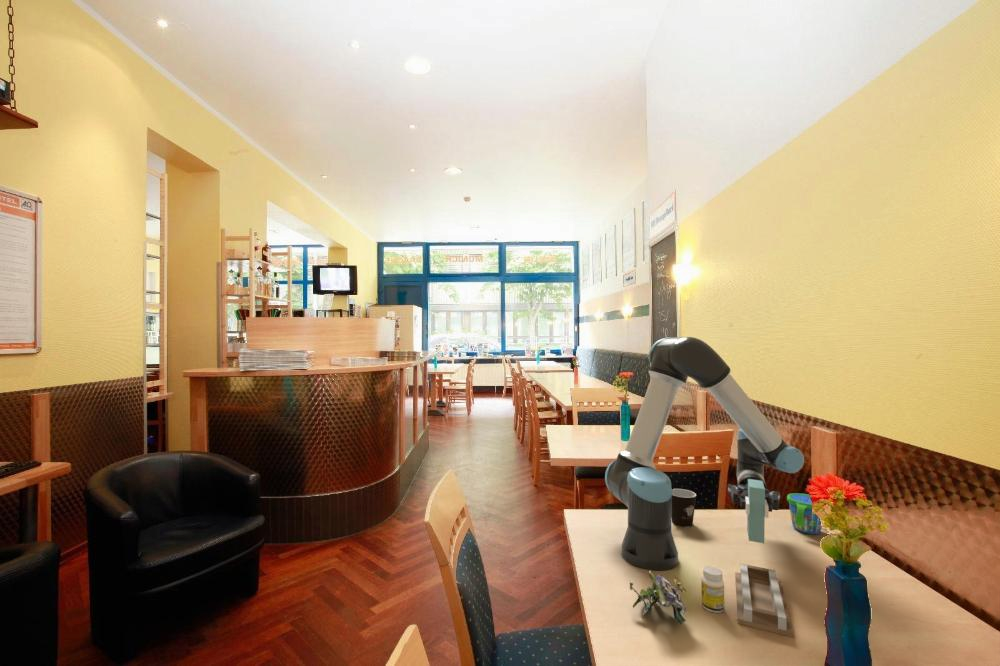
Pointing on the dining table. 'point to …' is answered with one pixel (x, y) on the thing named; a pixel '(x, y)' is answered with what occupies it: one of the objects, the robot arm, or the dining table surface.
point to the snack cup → (803, 514)
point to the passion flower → (662, 596)
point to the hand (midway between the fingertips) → (757, 510)
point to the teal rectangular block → (756, 511)
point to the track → (761, 600)
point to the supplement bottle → (712, 589)
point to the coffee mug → (683, 507)
